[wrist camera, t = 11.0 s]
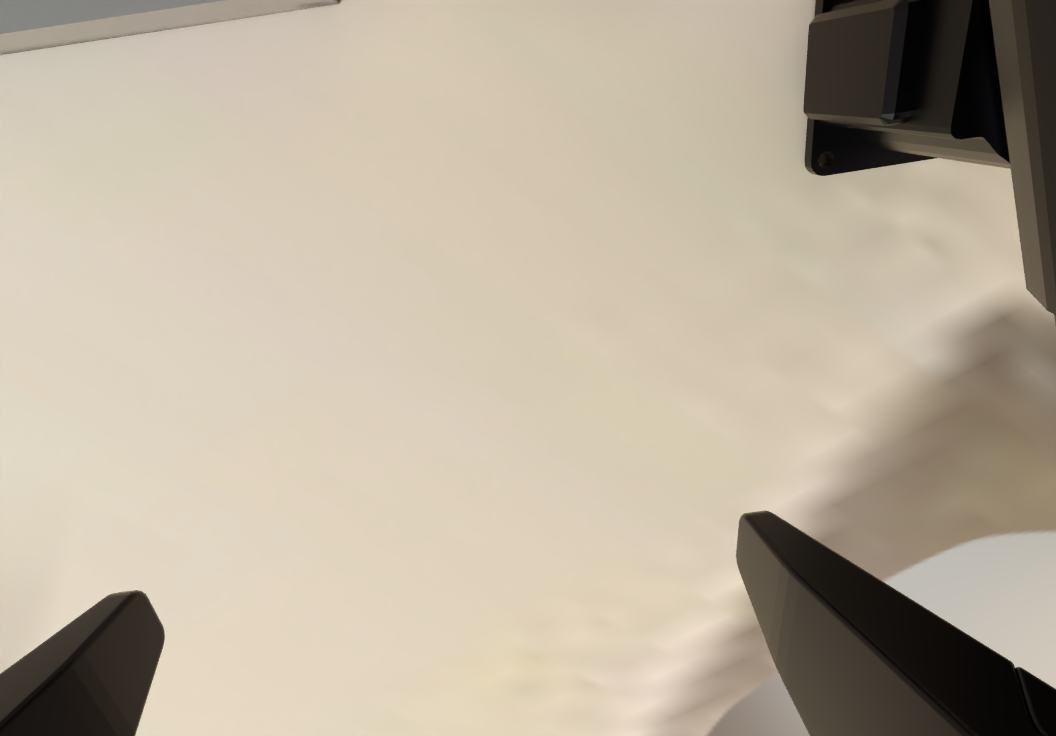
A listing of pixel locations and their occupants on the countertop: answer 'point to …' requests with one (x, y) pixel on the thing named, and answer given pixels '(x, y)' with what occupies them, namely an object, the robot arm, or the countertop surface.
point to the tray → (120, 18)
